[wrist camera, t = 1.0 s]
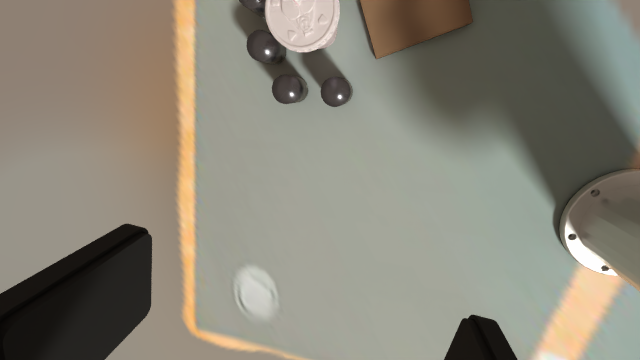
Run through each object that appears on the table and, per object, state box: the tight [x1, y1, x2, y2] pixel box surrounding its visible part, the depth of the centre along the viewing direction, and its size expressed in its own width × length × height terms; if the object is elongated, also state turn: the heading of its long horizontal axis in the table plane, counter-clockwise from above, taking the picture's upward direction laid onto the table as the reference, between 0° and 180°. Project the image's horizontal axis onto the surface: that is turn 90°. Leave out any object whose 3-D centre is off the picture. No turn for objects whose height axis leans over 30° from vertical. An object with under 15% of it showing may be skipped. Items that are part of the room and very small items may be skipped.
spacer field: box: [239, 0, 353, 107], centre depth 33 cm, size 9×17×4 cm, turn 20°
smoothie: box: [265, 0, 340, 52], centre depth 27 cm, size 6×6×14 cm
